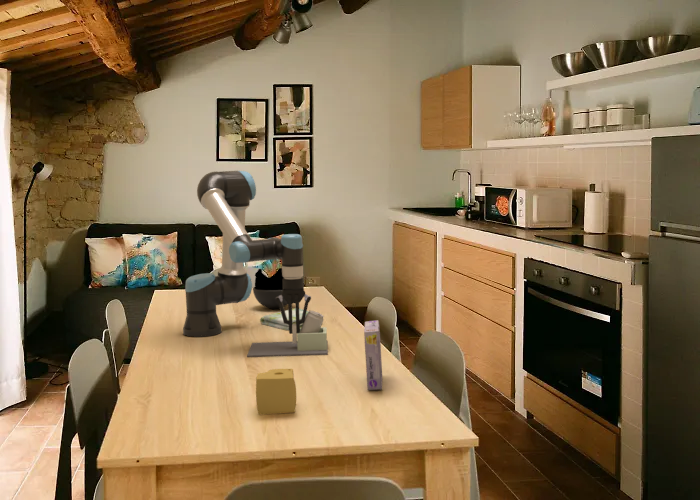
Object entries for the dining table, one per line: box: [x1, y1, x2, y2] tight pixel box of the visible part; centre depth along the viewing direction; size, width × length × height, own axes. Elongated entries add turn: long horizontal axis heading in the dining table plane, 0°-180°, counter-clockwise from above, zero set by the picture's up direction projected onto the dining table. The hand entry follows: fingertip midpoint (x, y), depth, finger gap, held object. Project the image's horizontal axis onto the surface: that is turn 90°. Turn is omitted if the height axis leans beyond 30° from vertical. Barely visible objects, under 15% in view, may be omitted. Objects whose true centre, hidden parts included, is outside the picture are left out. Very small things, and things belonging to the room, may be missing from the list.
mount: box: [246, 326, 329, 358], centre depth 287 cm, size 20×28×7 cm
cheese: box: [255, 368, 297, 416], centre depth 218 cm, size 10×11×10 cm
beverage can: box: [300, 310, 325, 333], centre depth 287 cm, size 6×6×12 cm
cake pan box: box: [363, 319, 383, 391], centre depth 241 cm, size 19×5×18 cm, turn 178°
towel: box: [259, 307, 309, 331], centre depth 333 cm, size 18×21×5 cm
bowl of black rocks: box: [252, 267, 288, 310], centre depth 369 cm, size 20×20×19 cm
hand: (294, 342), depth 287 cm, fingers closed
